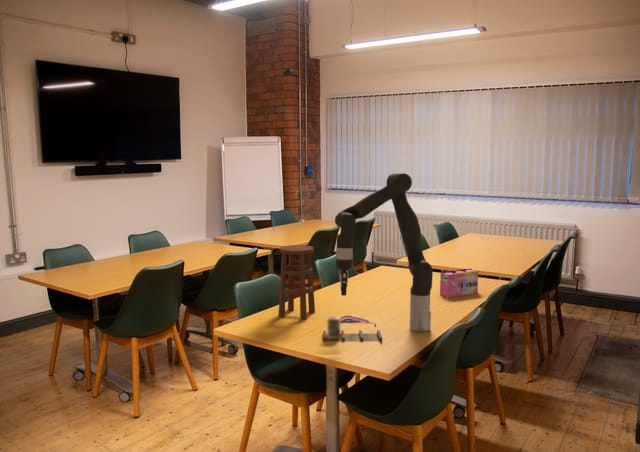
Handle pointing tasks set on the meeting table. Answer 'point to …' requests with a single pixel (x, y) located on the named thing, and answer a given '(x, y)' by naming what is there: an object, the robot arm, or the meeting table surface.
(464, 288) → the gum box
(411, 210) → the robot arm
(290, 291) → the stool
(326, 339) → the notched ledge
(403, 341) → the meeting table surface
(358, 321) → the icon
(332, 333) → the oak block
